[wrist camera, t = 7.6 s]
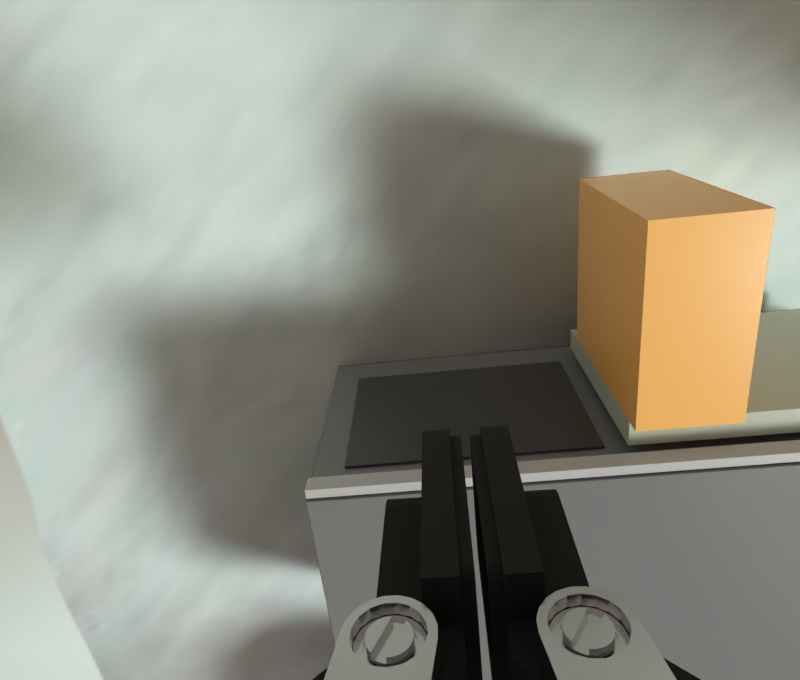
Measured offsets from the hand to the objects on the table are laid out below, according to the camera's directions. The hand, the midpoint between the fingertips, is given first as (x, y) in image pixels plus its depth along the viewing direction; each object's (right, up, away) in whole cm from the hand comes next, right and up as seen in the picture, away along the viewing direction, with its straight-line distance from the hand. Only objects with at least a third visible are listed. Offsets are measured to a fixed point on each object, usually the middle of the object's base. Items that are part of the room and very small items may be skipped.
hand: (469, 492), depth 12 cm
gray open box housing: (+8, -2, +16) cm, 18 cm away
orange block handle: (+10, +6, +11) cm, 16 cm away
